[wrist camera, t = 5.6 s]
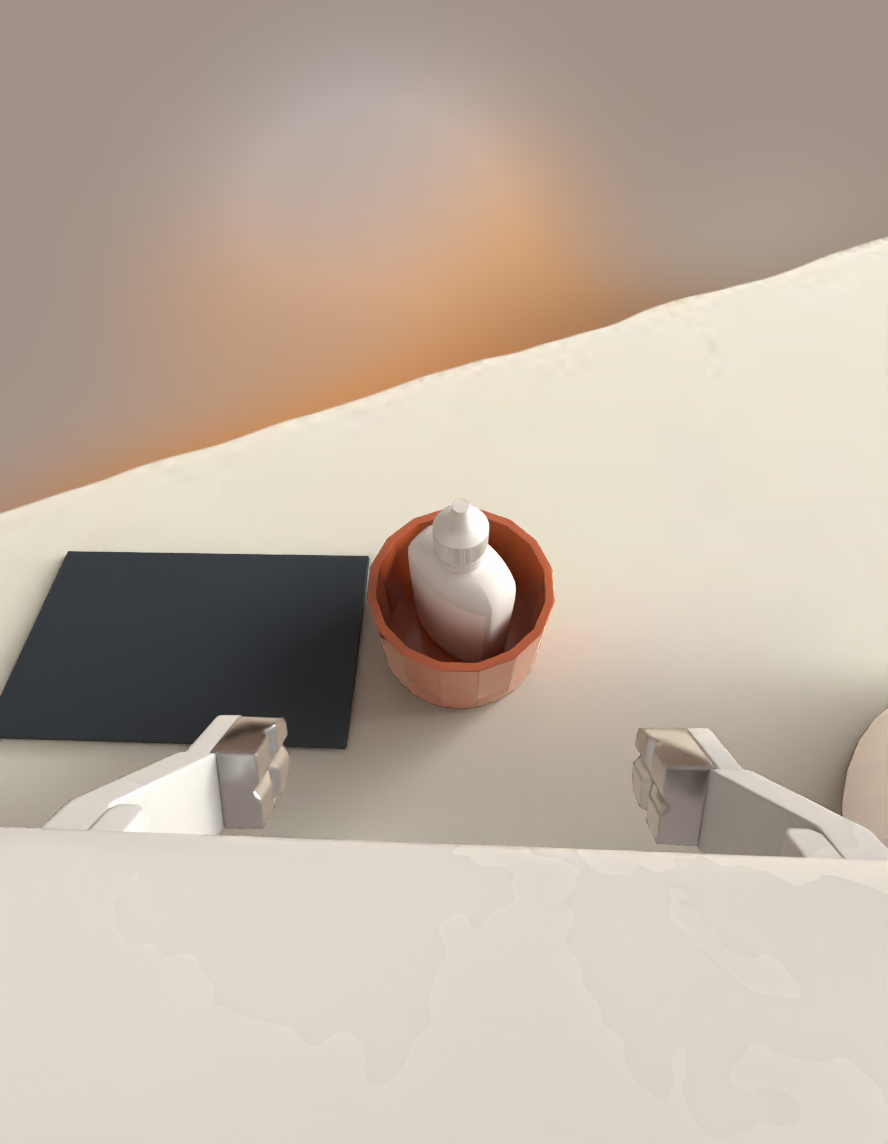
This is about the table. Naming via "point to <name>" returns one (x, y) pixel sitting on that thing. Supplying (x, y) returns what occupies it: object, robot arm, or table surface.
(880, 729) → the white curved half cylinder
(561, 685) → the table surface
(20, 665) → the mat
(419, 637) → the cup
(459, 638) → the eye dropper bottle
